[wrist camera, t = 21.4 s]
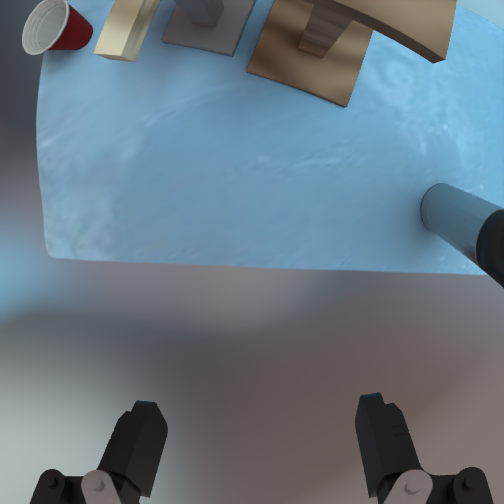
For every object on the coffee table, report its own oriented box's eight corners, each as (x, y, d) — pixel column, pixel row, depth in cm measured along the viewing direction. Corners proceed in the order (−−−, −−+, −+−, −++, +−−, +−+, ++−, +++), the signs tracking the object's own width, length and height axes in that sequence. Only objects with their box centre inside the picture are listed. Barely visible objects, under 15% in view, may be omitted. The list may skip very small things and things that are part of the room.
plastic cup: (51, 60, 38) (11, 53, 27) (72, 12, 34) (36, -4, 23) (90, 66, 39) (50, 56, 28) (113, 14, 35) (78, -7, 24)
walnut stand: (279, -6, 34) (289, -142, 4) (371, 28, 35) (481, -59, 5) (247, 72, 40) (209, -31, 10) (344, 107, 41) (469, 78, 11)
